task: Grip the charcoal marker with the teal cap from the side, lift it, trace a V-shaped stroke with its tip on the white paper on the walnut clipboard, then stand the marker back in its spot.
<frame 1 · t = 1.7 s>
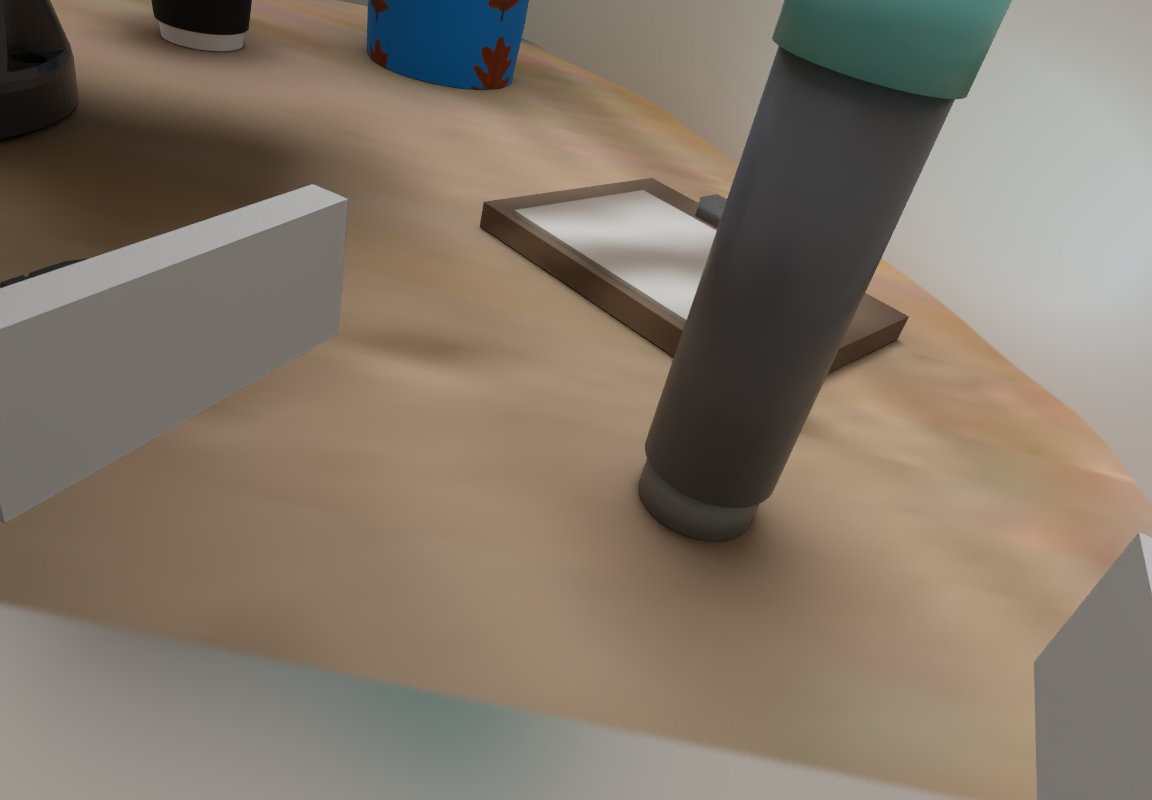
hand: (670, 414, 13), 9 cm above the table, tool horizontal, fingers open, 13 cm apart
clipboard: (688, 282, 39), on the table
thermos: (441, 67, 61), on the table
marker: (695, 499, 26), on the table
dixie cup: (202, 42, 53), on the table
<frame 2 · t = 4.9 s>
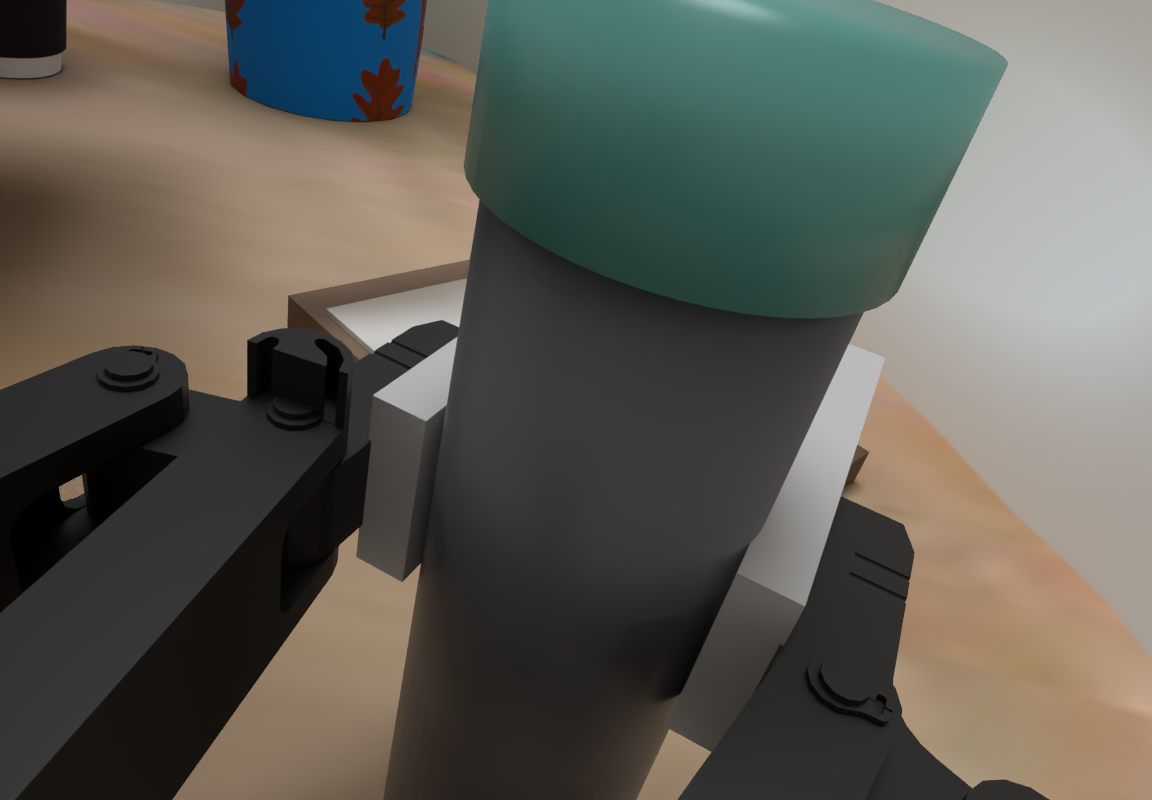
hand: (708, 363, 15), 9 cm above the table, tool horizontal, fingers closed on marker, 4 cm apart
clipboard: (570, 402, 29), on the table
thermos: (323, 93, 50), on the table
dixie cup: (7, 66, 43), on the table
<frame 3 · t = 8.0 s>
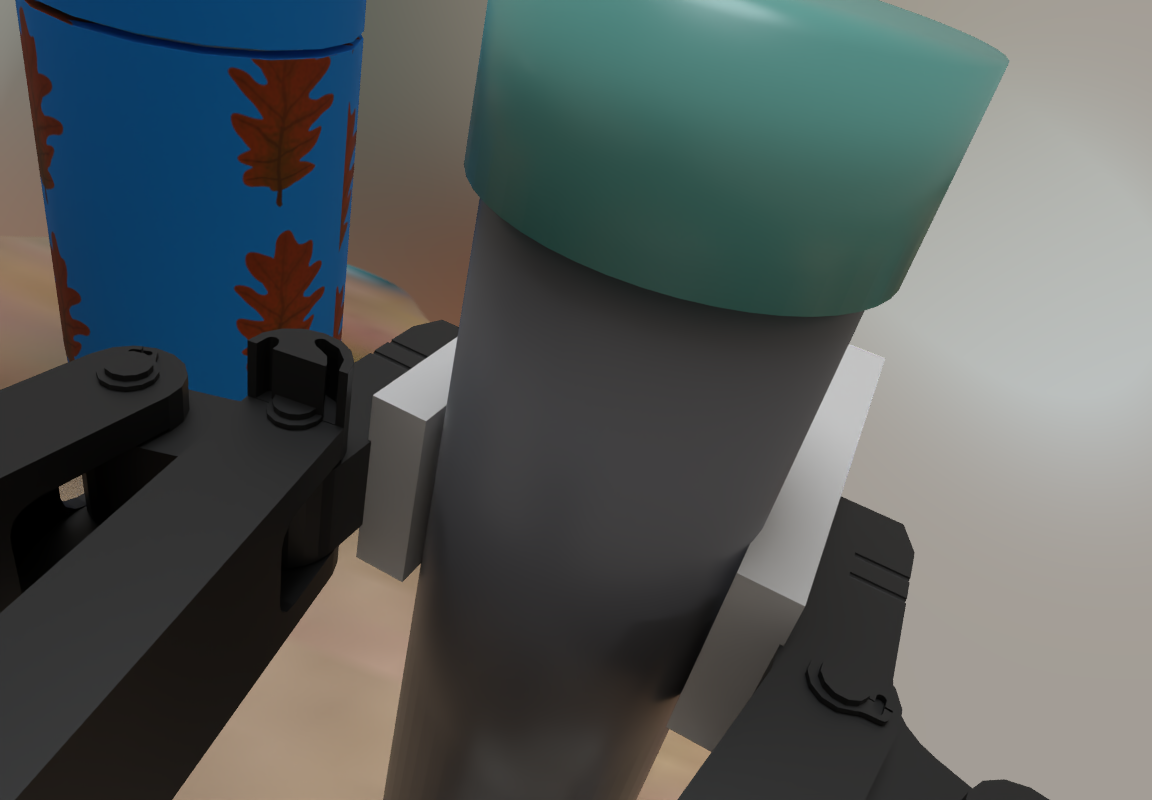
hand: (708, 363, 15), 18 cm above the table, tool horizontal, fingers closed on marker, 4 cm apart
thermos: (212, 407, 38), on the table
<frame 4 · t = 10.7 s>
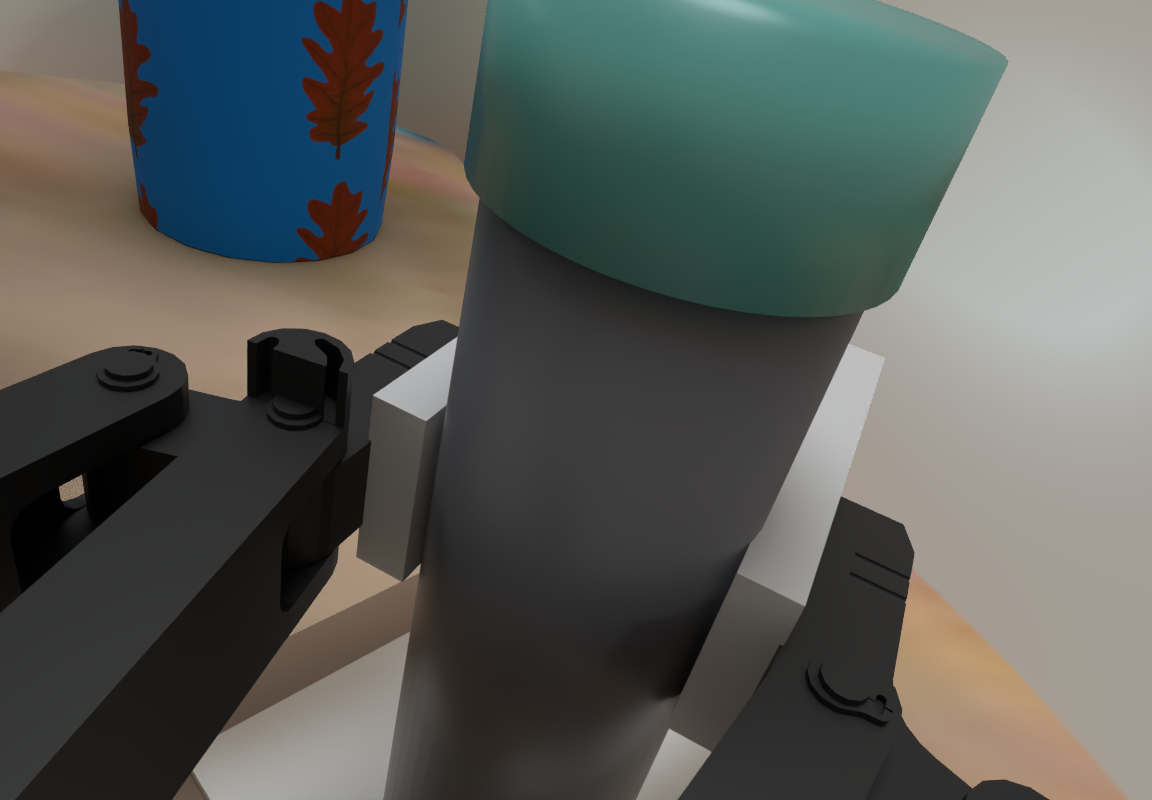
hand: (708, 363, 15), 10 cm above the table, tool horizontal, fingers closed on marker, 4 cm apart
thermos: (265, 213, 39), on the table
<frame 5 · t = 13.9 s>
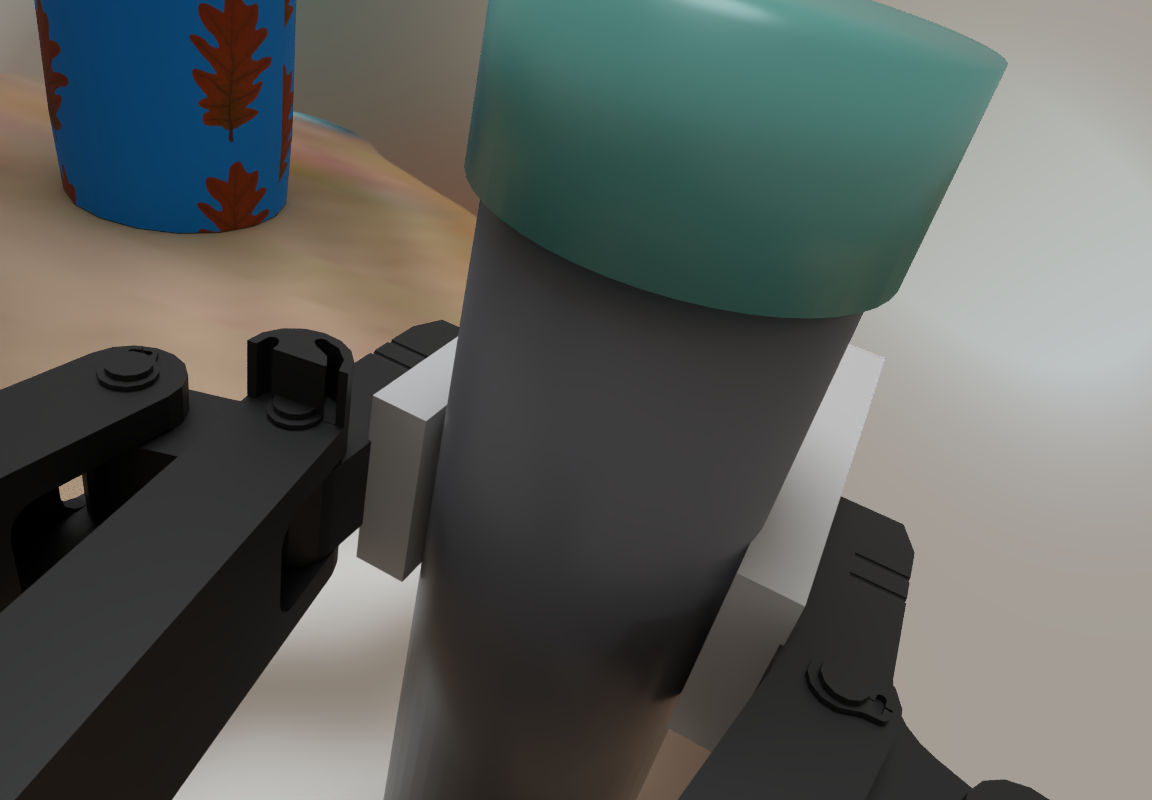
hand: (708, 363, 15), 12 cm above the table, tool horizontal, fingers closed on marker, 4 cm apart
clipboard: (346, 692, 22), on the table
thermos: (180, 192, 44), on the table
when the fingers open (9 cm above the table, at t = 16.8 s): marker stays where it is, on the table.
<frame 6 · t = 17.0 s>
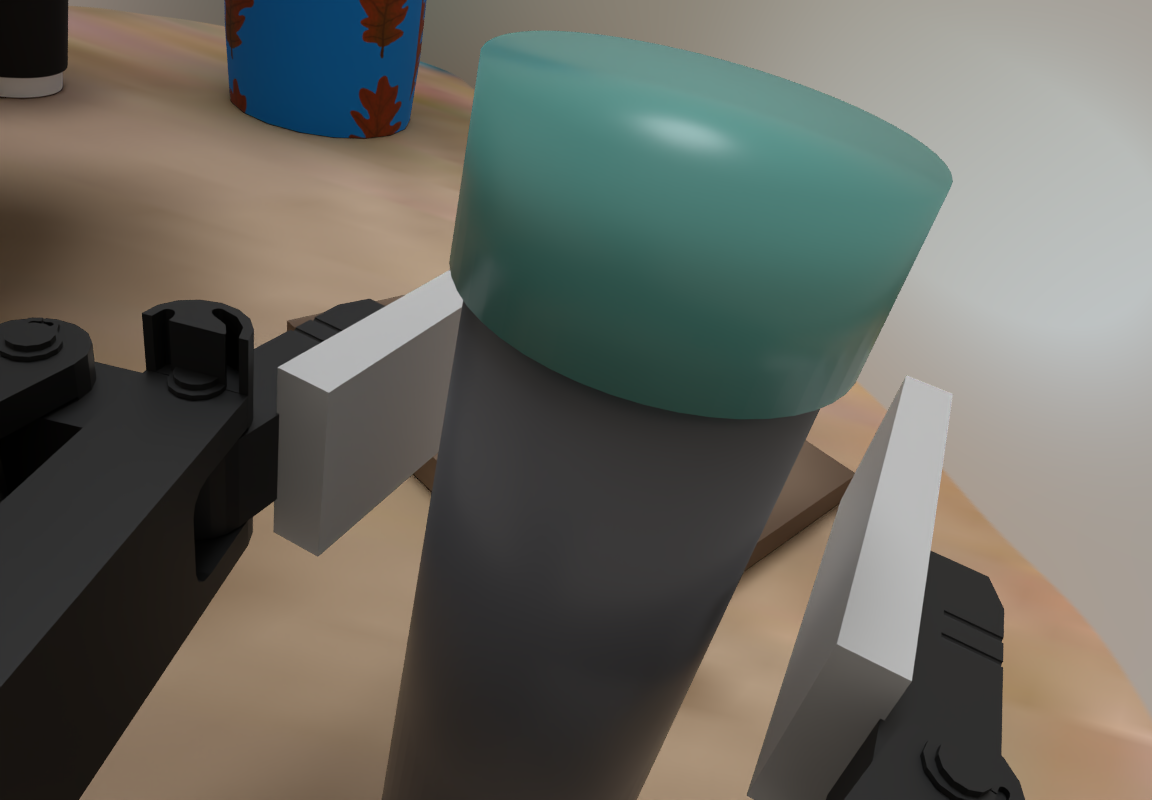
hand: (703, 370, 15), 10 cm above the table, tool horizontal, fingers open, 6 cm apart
clipboard: (564, 425, 29), on the table
thermos: (321, 109, 51), on the table
dixie cup: (9, 85, 43), on the table
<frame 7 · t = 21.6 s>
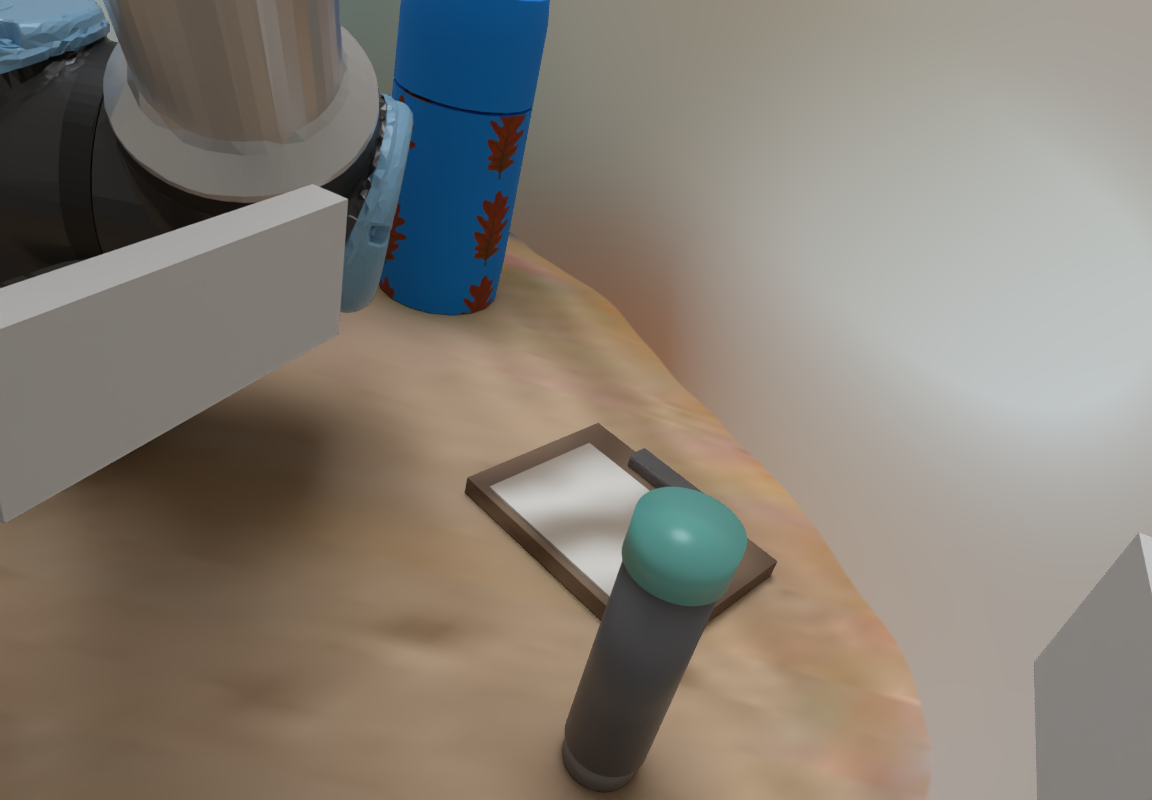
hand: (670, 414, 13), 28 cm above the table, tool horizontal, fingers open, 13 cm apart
clipboard: (617, 533, 53), on the table
thermos: (437, 286, 75), on the table
marker: (599, 755, 40), on the table
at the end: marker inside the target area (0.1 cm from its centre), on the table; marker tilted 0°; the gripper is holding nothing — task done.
